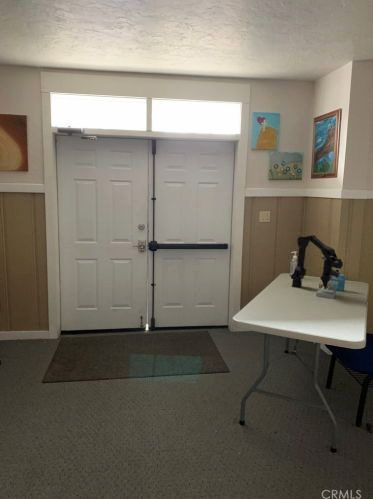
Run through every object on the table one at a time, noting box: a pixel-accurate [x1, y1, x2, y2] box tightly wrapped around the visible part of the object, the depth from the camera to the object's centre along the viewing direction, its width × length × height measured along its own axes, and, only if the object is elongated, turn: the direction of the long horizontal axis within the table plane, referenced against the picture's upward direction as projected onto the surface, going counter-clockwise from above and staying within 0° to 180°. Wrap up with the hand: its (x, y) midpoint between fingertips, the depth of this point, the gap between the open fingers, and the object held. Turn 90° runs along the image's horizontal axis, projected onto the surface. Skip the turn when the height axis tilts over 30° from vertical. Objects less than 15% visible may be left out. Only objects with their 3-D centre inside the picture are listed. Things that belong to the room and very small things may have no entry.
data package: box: [327, 273, 346, 292], centre depth 301 cm, size 12×4×12 cm, turn 64°
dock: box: [315, 289, 337, 300], centre depth 284 cm, size 12×10×4 cm
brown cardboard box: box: [318, 281, 333, 291], centre depth 283 cm, size 9×5×4 cm, turn 63°
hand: (325, 287), depth 284 cm, fingers closed on brown cardboard box, 5 cm apart
